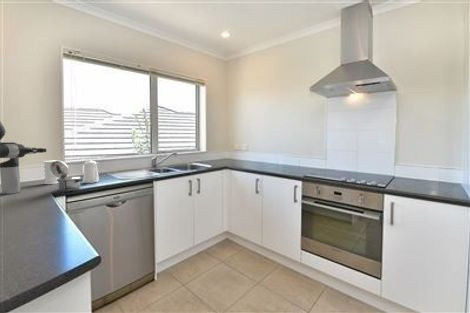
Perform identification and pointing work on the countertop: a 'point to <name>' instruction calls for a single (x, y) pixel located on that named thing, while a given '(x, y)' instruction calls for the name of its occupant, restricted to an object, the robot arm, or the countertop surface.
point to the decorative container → (49, 173)
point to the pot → (69, 183)
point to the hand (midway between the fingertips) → (39, 150)
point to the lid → (59, 169)
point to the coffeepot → (90, 172)
